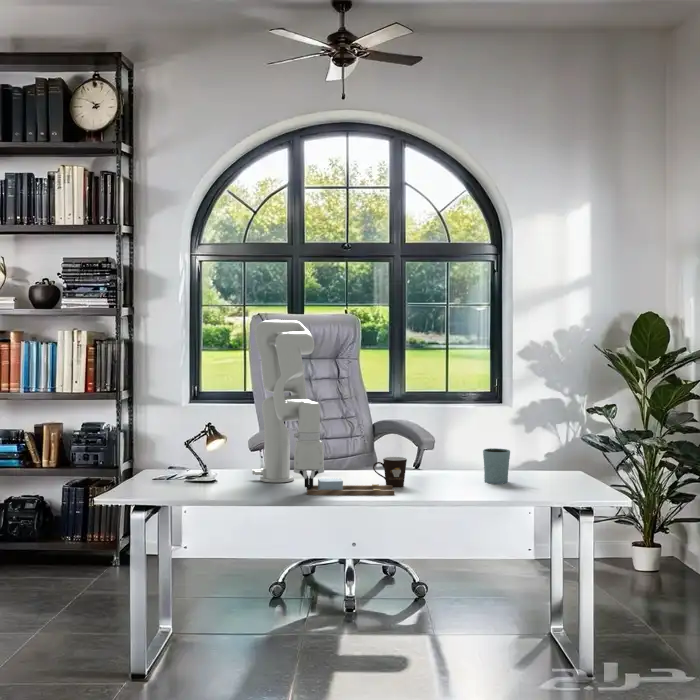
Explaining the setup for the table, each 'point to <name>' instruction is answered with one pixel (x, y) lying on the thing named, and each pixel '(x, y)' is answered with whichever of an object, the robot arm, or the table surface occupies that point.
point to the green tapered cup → (496, 465)
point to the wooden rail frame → (355, 490)
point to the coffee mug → (393, 470)
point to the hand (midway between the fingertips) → (308, 489)
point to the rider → (330, 484)
